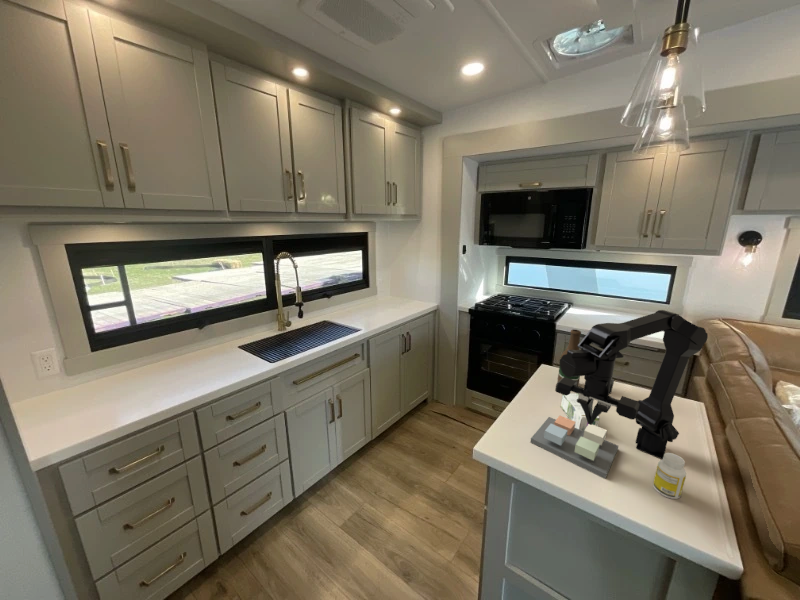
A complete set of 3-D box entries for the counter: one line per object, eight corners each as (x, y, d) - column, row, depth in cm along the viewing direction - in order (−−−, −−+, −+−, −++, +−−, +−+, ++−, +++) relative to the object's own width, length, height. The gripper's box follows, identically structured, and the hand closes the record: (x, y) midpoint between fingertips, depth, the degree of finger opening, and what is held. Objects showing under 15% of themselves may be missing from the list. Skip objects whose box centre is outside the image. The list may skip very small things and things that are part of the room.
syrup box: (575, 407, 116) (598, 433, 102) (559, 406, 116) (579, 432, 102) (578, 393, 114) (601, 417, 100) (561, 392, 115) (582, 417, 101)
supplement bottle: (667, 481, 83) (675, 450, 81) (686, 499, 78) (695, 466, 76) (647, 482, 83) (655, 450, 81) (664, 500, 78) (673, 466, 75)
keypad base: (617, 449, 95) (618, 445, 94) (605, 478, 84) (606, 474, 84) (548, 420, 108) (549, 416, 108) (530, 442, 98) (530, 438, 97)
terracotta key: (574, 428, 102) (575, 421, 101) (569, 435, 98) (570, 428, 98) (558, 421, 105) (559, 415, 104) (553, 428, 101) (554, 421, 101)
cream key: (605, 437, 96) (606, 430, 95) (601, 445, 92) (602, 438, 92) (587, 430, 99) (589, 423, 98) (583, 437, 95) (584, 430, 95)
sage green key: (598, 451, 90) (599, 444, 89) (593, 460, 86) (595, 453, 86) (579, 443, 93) (580, 436, 92) (574, 451, 90) (575, 444, 89)
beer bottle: (552, 382, 133) (560, 328, 127) (566, 379, 135) (575, 326, 129) (568, 392, 126) (577, 335, 120) (582, 388, 128) (592, 332, 122)
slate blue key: (566, 437, 95) (567, 430, 95) (560, 445, 92) (562, 438, 91) (549, 430, 99) (550, 423, 98) (543, 437, 95) (544, 430, 95)
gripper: (648, 374, 83) (637, 425, 87) (571, 352, 96) (564, 398, 100) (640, 390, 75) (628, 446, 79) (558, 364, 88) (551, 414, 92)
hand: (590, 423), depth 88 cm, fingers closed
